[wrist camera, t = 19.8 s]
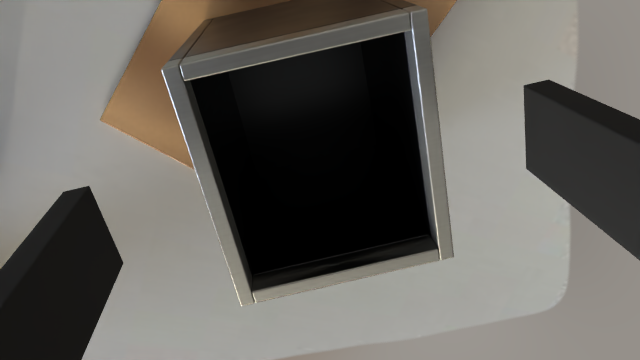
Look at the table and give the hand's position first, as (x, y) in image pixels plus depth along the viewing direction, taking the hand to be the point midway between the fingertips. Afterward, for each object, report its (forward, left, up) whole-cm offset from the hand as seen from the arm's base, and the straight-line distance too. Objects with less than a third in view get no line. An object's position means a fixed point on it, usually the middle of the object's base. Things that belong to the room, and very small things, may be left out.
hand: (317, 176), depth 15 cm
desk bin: (-4, -5, -10) cm, 12 cm away
